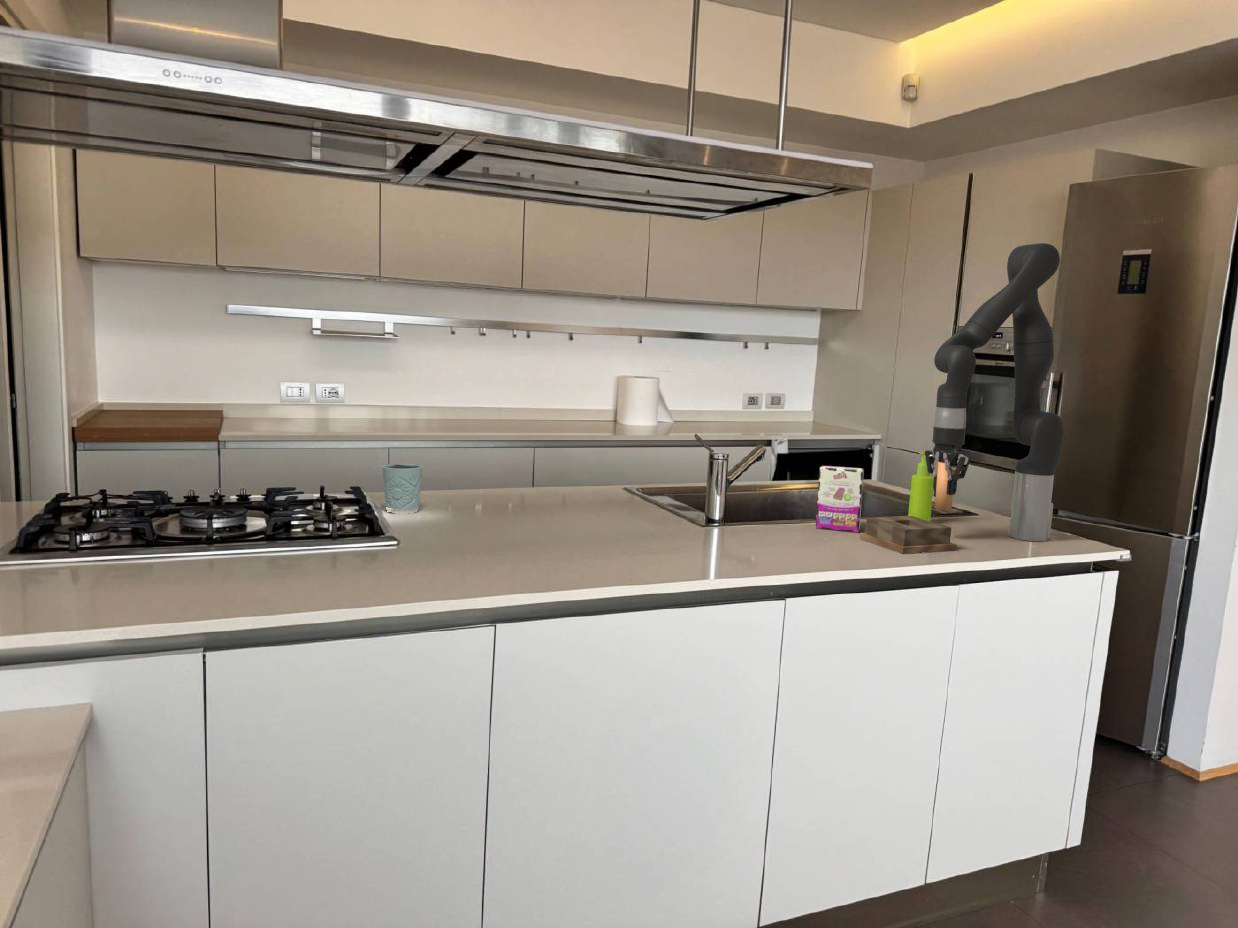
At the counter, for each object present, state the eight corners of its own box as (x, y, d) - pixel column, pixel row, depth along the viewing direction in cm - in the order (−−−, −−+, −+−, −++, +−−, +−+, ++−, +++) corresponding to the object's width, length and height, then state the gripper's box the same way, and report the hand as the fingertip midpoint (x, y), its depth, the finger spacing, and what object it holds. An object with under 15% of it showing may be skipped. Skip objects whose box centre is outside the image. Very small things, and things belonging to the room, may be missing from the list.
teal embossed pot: (393, 516, 224) (394, 469, 222) (375, 509, 231) (375, 464, 230) (429, 512, 231) (429, 467, 229) (409, 506, 238) (410, 461, 237)
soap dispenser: (935, 526, 242) (942, 453, 239) (909, 524, 243) (915, 452, 240) (932, 522, 247) (938, 451, 245) (906, 520, 249) (912, 449, 246)
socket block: (909, 535, 228) (911, 514, 227) (955, 550, 213) (957, 528, 212) (859, 538, 221) (861, 517, 221) (902, 553, 207) (904, 531, 206)
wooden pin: (943, 507, 227) (947, 461, 225) (954, 510, 223) (958, 463, 221) (931, 508, 225) (934, 461, 223) (942, 511, 221) (946, 464, 220)
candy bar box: (860, 529, 233) (865, 468, 231) (858, 533, 228) (863, 470, 226) (816, 525, 237) (821, 464, 234) (814, 528, 232) (819, 466, 230)
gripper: (982, 428, 216) (976, 497, 218) (940, 422, 229) (935, 487, 231) (958, 428, 213) (953, 498, 216) (917, 423, 226) (913, 489, 229)
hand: (944, 492), depth 223 cm, fingers closed on wooden pin, 4 cm apart
